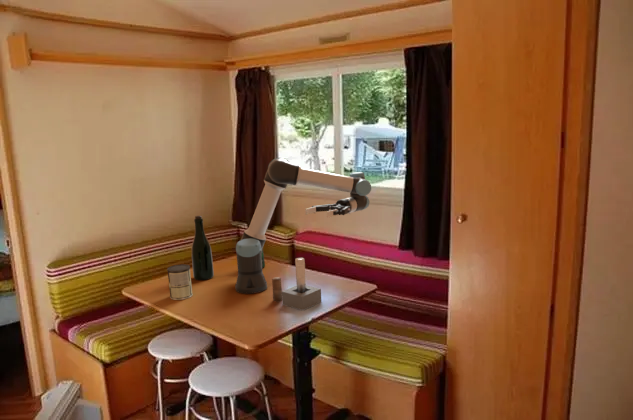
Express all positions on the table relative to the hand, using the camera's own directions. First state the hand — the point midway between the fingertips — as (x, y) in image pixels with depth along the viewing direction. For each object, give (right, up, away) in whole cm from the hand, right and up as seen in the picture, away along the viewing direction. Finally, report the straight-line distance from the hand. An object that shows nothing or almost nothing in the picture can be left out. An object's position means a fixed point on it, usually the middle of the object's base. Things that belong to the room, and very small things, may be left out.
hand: (316, 213), depth 230 cm
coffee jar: (-33, -31, +46) cm, 64 cm away
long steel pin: (-6, -39, -12) cm, 42 cm away
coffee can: (-63, -39, +4) cm, 75 cm away
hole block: (-6, -39, -12) cm, 42 cm away
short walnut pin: (-17, -39, -7) cm, 43 cm away
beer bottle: (-59, -34, +32) cm, 75 cm away
